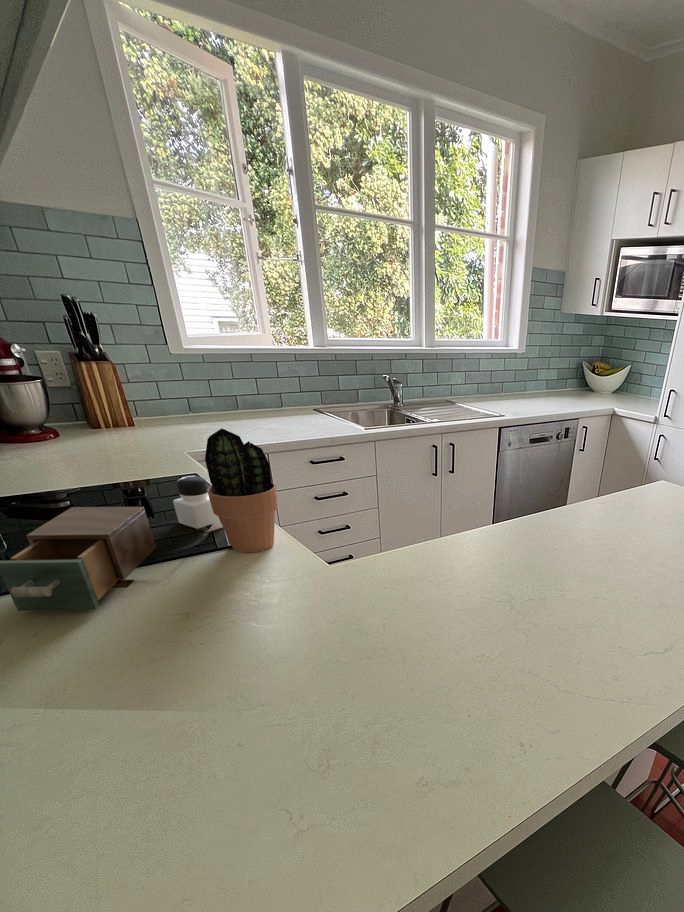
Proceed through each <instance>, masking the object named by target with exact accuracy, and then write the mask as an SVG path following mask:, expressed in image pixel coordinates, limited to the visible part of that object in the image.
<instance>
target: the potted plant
mask: <svg viewBox="0 0 684 912" xmlns="http://www.w3.org/2000/svg"><path fill="white" fill-rule="evenodd" d="M205 447H206V448H205V457H204V461H205V465H206V469H207V475H208V478H209V482H210V484H211V485H209V486H208V489H207V492H208V496H209V499H210V502H211V506H212V509H213V513H214V514H215V515H217V516H218V517H219V519H220V522H221V524H222V526H223V528H222V529H223V531H224V532H225V535H226V537H227V539H228V542H229V544H230V546H231V548H232V549H233V550H234V551H236V552H240V553H258V552H262V551H266V550H268V549H270V548H271V547H273V546H274V543H275V524H276V511H277V510H278V507H279V502H278V494H277V486H276V484H275V482H273V480H272V474H271V473H272V472H271V466H270V462H269V460H268V458H267V456H266V454H265V452H264V450H263V448H261V447H260V446H257V445H256V444H254V443H252V442H250V440H248V441H247V442H246V443H244V442H243V440H242V439H241V437H240V435H238V434H236V433H233V432H231V431H230V430H227V429H224V428H219V429H218V430H217V431H215V432H214V433H212V434H211V435H209V436H208V437H207V441H206V446H205Z"/></svg>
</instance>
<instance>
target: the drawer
mask: <svg viewBox="0 0 684 912" xmlns="http://www.w3.org/2000/svg"><path fill="white" fill-rule="evenodd" d="M0 577H1V578H2V581H3V582H4V584H5V587H6V589H7V591H8V593H9V595H10V597H11V599H12V601H13V604H14V606H15V608H16V610H17V612H36V611H39V612H40V611H76V610H77V611H78V610H79V611H80V610H81V611H82V610H97V609H98V608H99V607H100V603H99V601H100V600H101V599H102V598H103V597H104V596H105V595H106V594H107V593H108V592H109V591H110V590H111V589H113V588H112V587H113V586H114V585H115V584H116V583H117V582H118V581H119V580H120V579H119V576H118V573H117V570H116V567H115V564H114V562H113V559H112V556H111V553H110V550H109V547H108V544H107V542H106V539H39V540H38V541H36V542H35V543H33V544H32V545H30V544H29V545H28V546H27V547H26V548H25V547H24V549H23V550H21V551H19V552H18V553H16V554H15V555H13V556H12V557H10V560H9V559H8V560H0Z"/></svg>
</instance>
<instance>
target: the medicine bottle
mask: <svg viewBox="0 0 684 912" xmlns="http://www.w3.org/2000/svg"><path fill="white" fill-rule="evenodd" d="M176 485H177V488H178V492H179V496H180V497H179V498H176V499H173V500H172V503H173V507H174V510H175V513H176V518H177V521H178V523H179V524H181V525H184V526H188V527H191V528H194V529H196V530H197V529H198V530H199V529H201V528H205V527H208V526H210V527H209V528H208V530H207V531H205V534H208V533H211V532H214V531H216V530H220V529H224V528H223V526H222V524H221V522H220V519H219V517H218V516H217V515H215V514H214V513H213V509H212V506H211V502H210V499H209V496H208V492H207V489H208V488H209V486H208V484H207V479H206V478H205V477H202V476H200V475H187V476H183V477H181V478H179V479H177V481H176Z"/></svg>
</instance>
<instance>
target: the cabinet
mask: <svg viewBox="0 0 684 912" xmlns="http://www.w3.org/2000/svg"><path fill="white" fill-rule="evenodd" d="M25 536H26V538H27V541H28V542H29V546H30V545H32V544H33V543H35V542H36V541H38V540H39V539H106V542H107V544H108V547H109V550H110V553H111V556H112V559H113V562H114V564H115V567H116V570H117V573H118V576H119V578H118V580H119V581H118V582H117V583H116V584H115V585H114V586H113V587H112V588H111V589H125V588H128V587H129V586H130V585H131V584H132V583H133V582H134V581H135V579H127V578H128V576H130V575H131V573H133V572H134V571H135V570H136V568H138V567H139V566H140V565H141V564H142V562H144V561H145V560H146V559H147V558H148V557H149V556H151V554H152V553H153V552H154V551H155V550H156V549H157V546H156V543H155V540H154V536H153V533H152V529H151V526H150V523H149V520H148V516H147V512H146V509H145V507H144V506H72V507H69V508H68V509H66V510H64V511H63V512H62V513H60V514H59V515H56V516H55V517H54V518H51V519H50V520H48V521H47V522H45V523H44V524H42V525H41V526H39V527H37V528H36V529H34V530H33V531H31V532H30V533H28V534H26V535H25Z"/></svg>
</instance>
